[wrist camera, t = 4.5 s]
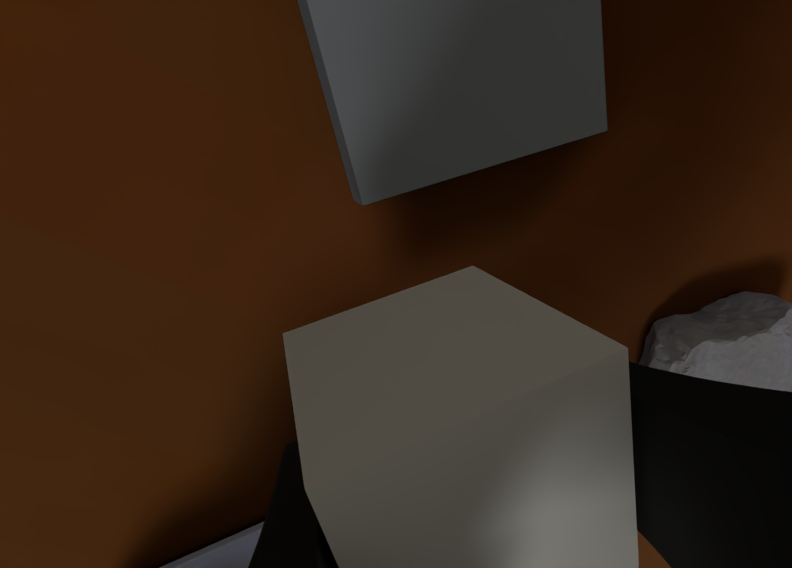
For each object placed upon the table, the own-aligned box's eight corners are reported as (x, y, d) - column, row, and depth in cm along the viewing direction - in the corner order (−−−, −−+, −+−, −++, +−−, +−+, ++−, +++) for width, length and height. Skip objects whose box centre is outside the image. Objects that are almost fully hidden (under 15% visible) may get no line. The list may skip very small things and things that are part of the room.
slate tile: (353, 200, 16) (363, 205, 14) (257, -143, 12) (257, -180, 11) (580, 131, 18) (607, 130, 16) (557, -181, 14) (589, -217, 13)
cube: (343, 489, 12) (398, 705, 7) (282, 333, 10) (304, 489, 5) (501, 419, 13) (639, 568, 8) (473, 265, 11) (627, 347, 6)
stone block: (588, 477, 28) (734, 449, 28) (635, 541, 23) (808, 507, 24) (588, 307, 24) (756, 279, 24) (644, 345, 19) (849, 309, 20)
